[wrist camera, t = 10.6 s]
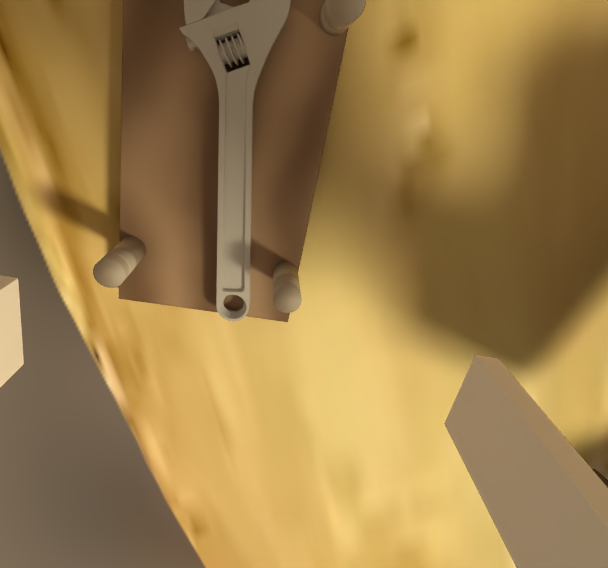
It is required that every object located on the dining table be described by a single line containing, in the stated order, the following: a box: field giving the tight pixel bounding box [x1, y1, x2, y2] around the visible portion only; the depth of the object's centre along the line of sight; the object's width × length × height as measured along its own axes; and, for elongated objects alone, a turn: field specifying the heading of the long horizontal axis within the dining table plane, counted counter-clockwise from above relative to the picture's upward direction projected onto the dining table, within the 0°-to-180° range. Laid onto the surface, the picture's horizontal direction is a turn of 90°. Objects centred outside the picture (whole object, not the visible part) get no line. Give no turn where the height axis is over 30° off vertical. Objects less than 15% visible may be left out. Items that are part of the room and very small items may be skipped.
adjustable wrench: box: [179, 0, 291, 321], centre depth 28 cm, size 25×6×2 cm, turn 171°
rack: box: [93, 0, 366, 322], centre depth 27 cm, size 14×27×6 cm, turn 169°
